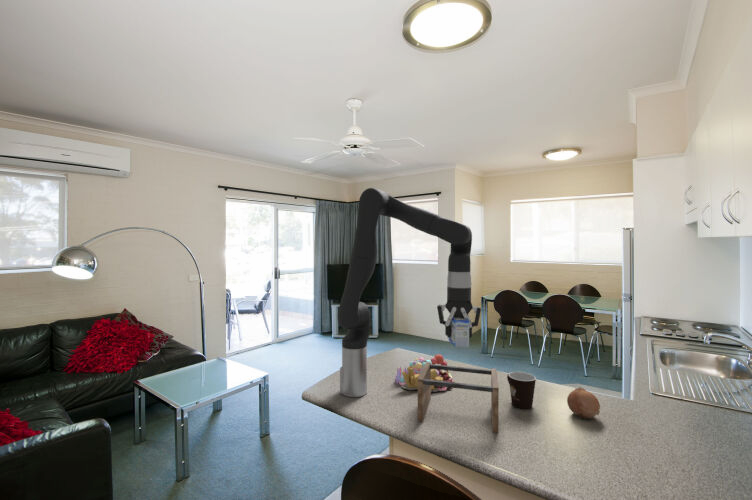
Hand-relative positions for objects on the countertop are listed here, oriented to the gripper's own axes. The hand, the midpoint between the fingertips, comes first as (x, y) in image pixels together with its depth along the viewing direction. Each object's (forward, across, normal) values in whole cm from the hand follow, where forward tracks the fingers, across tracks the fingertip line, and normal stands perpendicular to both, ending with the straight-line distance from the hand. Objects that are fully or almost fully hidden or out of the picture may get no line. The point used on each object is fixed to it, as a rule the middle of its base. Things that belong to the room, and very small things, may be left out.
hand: (458, 337), depth 114 cm
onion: (+25, +38, +10) cm, 47 cm away
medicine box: (+2, 0, 0) cm, 2 cm away
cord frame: (+25, 0, 0) cm, 25 cm away
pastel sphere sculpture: (+25, -15, +25) cm, 39 cm away
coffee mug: (+25, +20, +14) cm, 35 cm away
